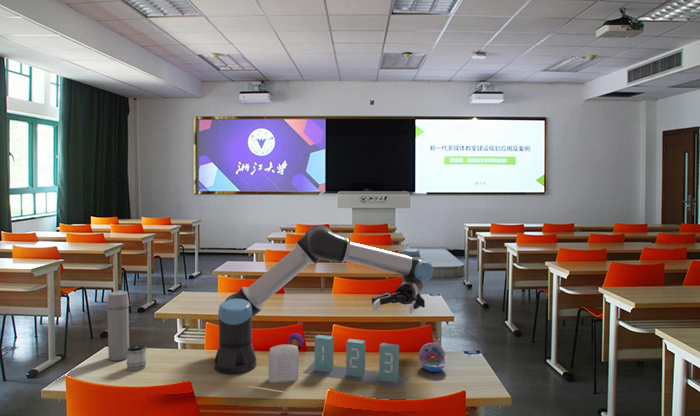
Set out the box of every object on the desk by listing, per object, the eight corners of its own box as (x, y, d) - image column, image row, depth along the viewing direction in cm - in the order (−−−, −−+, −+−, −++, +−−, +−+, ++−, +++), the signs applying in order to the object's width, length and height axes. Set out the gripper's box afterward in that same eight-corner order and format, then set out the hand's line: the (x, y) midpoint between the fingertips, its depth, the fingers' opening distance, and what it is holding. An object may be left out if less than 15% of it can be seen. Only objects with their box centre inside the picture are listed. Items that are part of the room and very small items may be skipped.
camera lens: (126, 372, 168) (126, 351, 167) (127, 366, 174) (127, 344, 173) (146, 370, 170) (145, 348, 170) (146, 363, 176) (146, 342, 175)
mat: (302, 373, 169) (302, 372, 169) (313, 363, 178) (313, 362, 178) (402, 389, 158) (402, 388, 158) (408, 377, 167) (408, 376, 167)
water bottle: (121, 362, 176) (120, 296, 175) (103, 360, 178) (101, 294, 176) (137, 353, 185) (136, 290, 184) (119, 351, 187) (118, 289, 185)
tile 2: (345, 375, 167) (346, 341, 166) (348, 371, 170) (349, 338, 169) (362, 377, 165) (362, 343, 165) (364, 374, 168) (365, 340, 168)
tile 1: (314, 370, 171) (314, 337, 170) (317, 366, 174) (317, 334, 173) (329, 372, 169) (330, 339, 168) (333, 369, 172) (333, 336, 171)
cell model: (422, 377, 167) (423, 350, 166) (415, 364, 179) (416, 339, 178) (450, 377, 168) (451, 350, 167) (442, 363, 180) (442, 338, 179)
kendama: (276, 353, 178) (289, 331, 197) (279, 368, 178) (291, 345, 198) (291, 351, 177) (303, 329, 197) (294, 366, 178) (305, 343, 197)
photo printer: (297, 376, 167) (298, 341, 166) (299, 381, 163) (299, 346, 162) (268, 378, 164) (268, 343, 164) (268, 384, 160) (268, 348, 159)
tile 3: (379, 380, 164) (379, 346, 163) (381, 376, 167) (382, 342, 166) (396, 382, 162) (396, 348, 161) (398, 379, 165) (398, 345, 164)
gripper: (438, 303, 186) (427, 320, 166) (377, 300, 195) (359, 317, 175) (437, 284, 185) (426, 299, 166) (376, 282, 194) (358, 297, 175)
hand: (391, 308), depth 170 cm, fingers open, 13 cm apart
